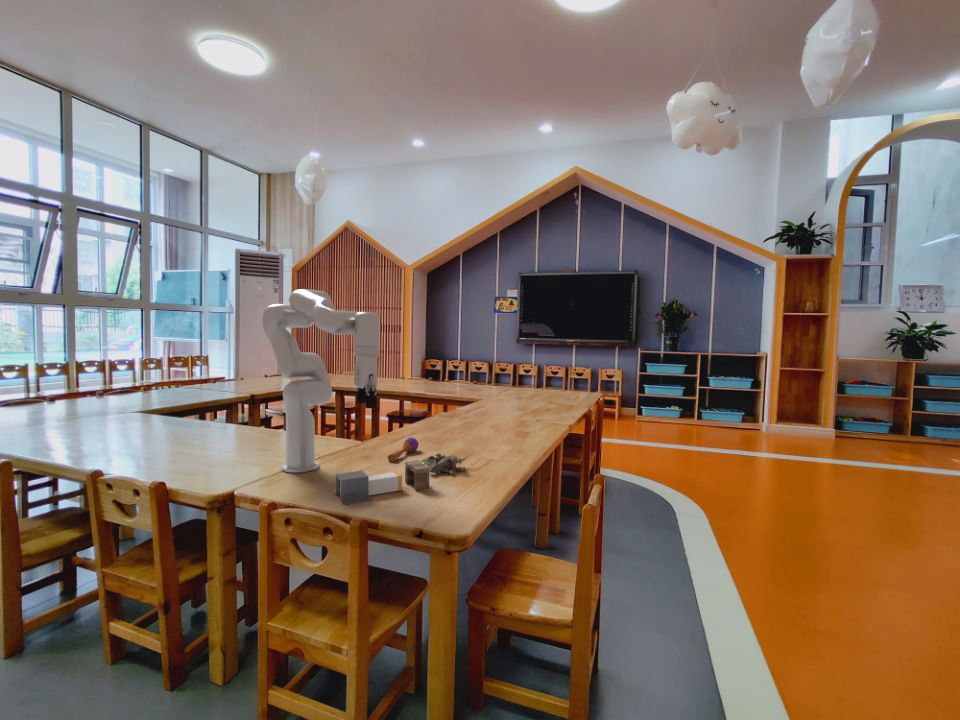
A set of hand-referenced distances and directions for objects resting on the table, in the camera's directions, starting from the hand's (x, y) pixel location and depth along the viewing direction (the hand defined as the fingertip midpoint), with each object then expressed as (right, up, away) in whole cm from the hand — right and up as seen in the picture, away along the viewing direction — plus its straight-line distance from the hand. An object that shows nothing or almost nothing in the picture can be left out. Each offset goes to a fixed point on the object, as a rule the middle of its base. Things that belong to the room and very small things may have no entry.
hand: (366, 405), depth 150 cm
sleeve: (-3, -27, -7) cm, 28 cm away
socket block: (+16, -27, +4) cm, 31 cm away
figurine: (+22, -26, +22) cm, 41 cm away
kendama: (+5, -24, +40) cm, 47 cm away
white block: (+3, -27, -4) cm, 27 cm away
